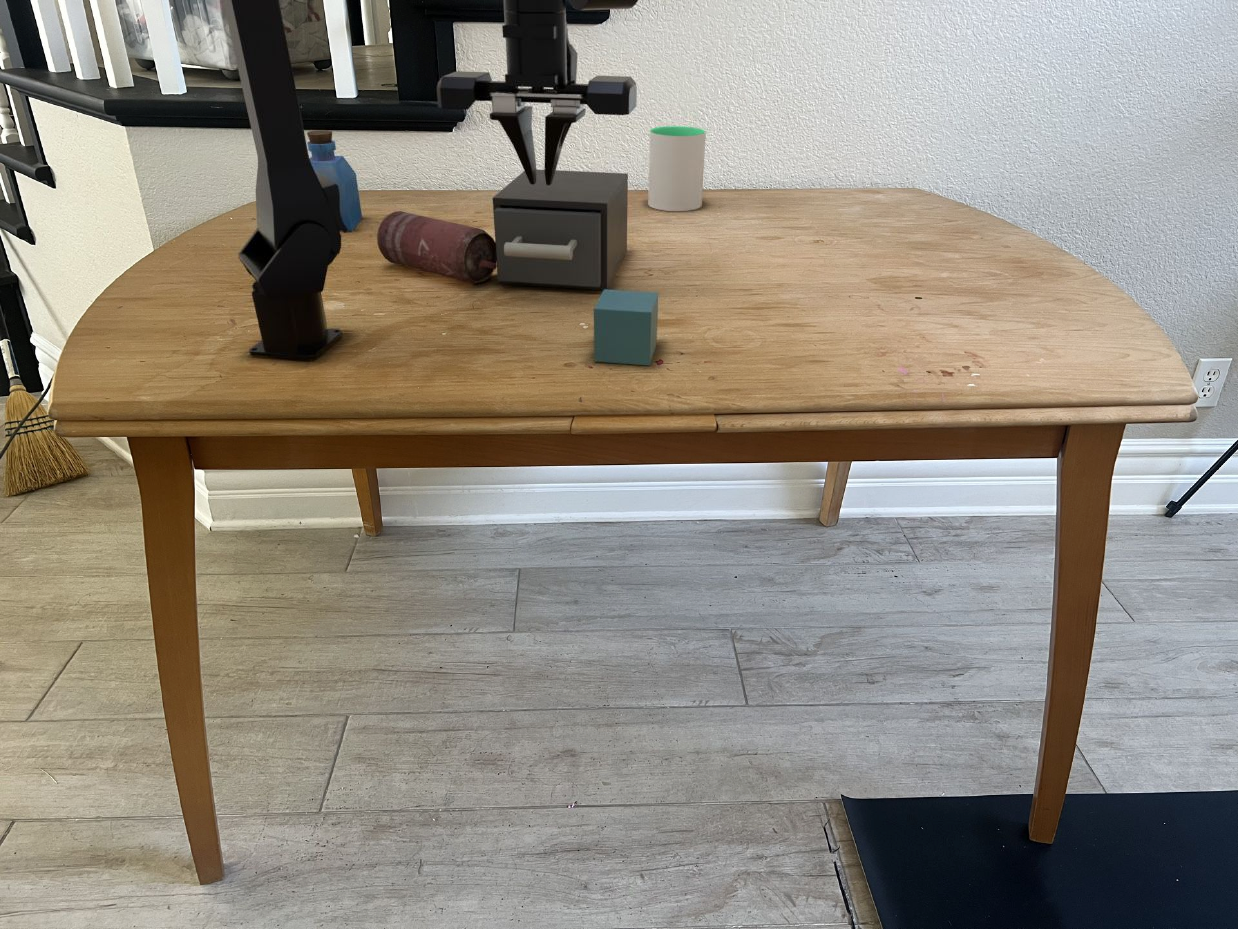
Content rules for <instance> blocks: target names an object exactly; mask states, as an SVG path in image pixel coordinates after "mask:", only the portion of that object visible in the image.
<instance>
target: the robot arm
mask: <svg viewBox="0 0 1238 929" xmlns="http://www.w3.org/2000/svg"><path fill="white" fill-rule="evenodd" d="M568 2H569V4H570V6H571V7H572V8H573V9H575V10H576V11H600V10H601V11H603V10H604V11H605V10H606V11H607V10H630V9H632V8H633V7H635V6H636V5H637V3H638V2H639V0H568ZM222 4H223V8H224V12H225V16H226V21H227V25H228V29H229V30H228V31H229V34H230V39H231V44H232V48H233V53H234V57H235V61H236V65H237V70H238V71H237V72H238V75H239V80H240V83H241V88H242V93H243V97H244V101H245V107H246V110H247V115H248V119H249V124H250V128H251V134H252V138H253V142H254V147H255V152H256V156H257V168H256V169H257V172H256V181H255V182H256V183H255V209H256V225H257V228H256V229H255V230H254V232H253V233H252V235H250V237H249V238H248V240H247V241H246V243H245V244H244V245H243V247H242V248H241V249H240V251H239V252H238V255H237V257H238V259H239V261H240V262H241V265H242V266H243V267H244V268H245V270H246V272H247V273H248V274H249V275H250V276H251V277H252V278H253V279H254V280H255V281H254V282H253V283H252V285H251V288H252V291H250V292H251V297H252V302H253V305H254V311H255V316H256V320H257V324H258V329H259V334H260V338H261V340H260V341H258V342H257V343H256V344H254V345H253V346H252V347H250V348H249V349H248V352H249V355H250V356H254V357H267V358H279V359H289V360H290V359H292V360H305V361H314V360H316V359H317V358H318V357H320V356H321V355H323V353H324V352H325V351H327V349H329V348H330V347H331V346H332V345H334V343H336V342H337V341H338V340H339V339H340V338H341V337H342V336H344V335H343V334H344V333H343V329H341V328H340V329H339V328H328V326H327V325H328V324H327V323H328V322H327V318H326V313H325V307H324V301H323V294H322V292H323V291H324V288H325V284H326V278H327V273H328V268H329V265H331V264H332V263H333V262H334V260H335V259H336V258H337V256H338V255H339V254H340V253H341V249H342V234H341V232H343V233H348V232H349V231H348V229H347V228H346V226H345V224H344V223H343V221H342V217H341V214H340V194H339V187H338V185H337V184H335V183H334V182H333V181H331V180H330V179H328V178H327V177H325V176H324V175H322V174H321V173H319V172H317V173H315V171H314V169H313V167H312V164H311V162H310V159H309V158H310V156H309V150H308V144H307V140H306V134H305V129H304V124H303V119H302V113H301V108H300V103H299V98H298V93H297V92H298V91H297V87H296V81H295V77H294V72H293V67H292V61H291V56H290V51H289V46H288V41H287V34H286V30H285V24H284V20H283V15H282V8H281V5H280V0H222ZM566 10H567V8H566V0H503V15H504V24H502V25H501V28H502V30H501V31H502V38H504V39H505V55H506V56H505V57H506V72H507V73H505V74H504V80H493V78H492V76H491V74H490V73H491V72H489V71H461V70H460V71H459V70H457V71H453V72H450V73H449V74H445V75H443V76H441V78H440V79H439V80H438V82H437V85H436V97H437V107H438V109H442V110H443V109H444V110H467V111H468V110H469V109H471V107H473V105H474V104H475V103H476V102H491V112H490V113H489V120H491V121H498V123H499V124H500V125H501V127H502V129H503V131H504V132H505V134H506V136H507V138H508V139H509V141H510V143H511V145H512V146H513V149H514V150H515V153H516V155H517V157H518V159H519V162H520V164H521V166H522V169H523V171H525V173H526V175H527V178H528V180H529V182H530V184H532V185H534V184H535V183H536V169H537V161H536V152H535V144H534V134H533V126H532V124H533V123H532V122H533V106H532V105H526V104H527V103H532V104H535V103H536V104H550V108H552V111H551V112H550V113H548V114H547V115H546V116H544V169H543V170H545V180H546V185H551V184H552V181H553V178H554V174H555V171H556V170H557V166H558V164H559V159H560V157H561V153H562V149H563V146H564V143H565V140H566V138H567V135H568V133H569V131H570V128H571V126H572V124H574V123H577V122H578V121H579V120H581V119H583V117H584V116H586V111H587V109H586V108H585V105H586V106H587V107H588V108H589V109H590V110H591V111H592V112H593V114H594V115H603V116H605V115H606V116H628V115H630V114H631V113H632V112H633V111H634V110H635V109H636V108H637V101H638V100H637V99H638V98H637V97H638V96H637V95H638V92H637V91H638V88H637V83H636V81H635V80H634V79H633V77H632V76H629V75H628V76H626V75H625V76H624V75H623V76H621V75H596V76H594V77H592V78H591V79H590V80H588V83H577V74H578V73H577V72H578V69H577V68H578V56H579V55H578V52H577V50H576V49H575V47H574V46H573V45H572V44H571V43H570V40H569V29H568V22H567V12H566Z"/></svg>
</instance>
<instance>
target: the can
mask: <svg viewBox="0 0 1238 929" xmlns="http://www.w3.org/2000/svg"><path fill="white" fill-rule="evenodd" d="M376 241H377V246H378V249H379V252H380V253H381V254H382V256H383V258H384V259H385V260H386V261H388V262H389V263H393V264H395V265H399V266H402V267H407V268H410V269H415V270H418V271H421V272H426V273H429V274H433V275H437V276H441V277H443V278H447V279H452V280H456V281H459V282H463V283H467V284H471V285H472V284H473V285H474V284H478V283H482V282H485V281H486V280H487V279H489V278H490V277H491V275H492V274H493V273H494V271H495V270H497V259H496V244H495V238H494V237H492V235H490V234H489V233H488V232H487V231H485V230H484V229H482V228H478V227H475V226H470V225H465V224H460V223H456V222H452V221H446V220H442V219H438V218H434V217H429V216H425V215H419V214H416V213H411V212H406V211H402V210H397V211H392V212H391V213H389V214H388V215H386V216H385V217H384V219H382V221H381V222H380V224H379V225H378V229H377V233H376Z"/></svg>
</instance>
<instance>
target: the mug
mask: <svg viewBox="0 0 1238 929" xmlns="http://www.w3.org/2000/svg"><path fill="white" fill-rule="evenodd" d="M706 135H707V131H706V130H705V129H702V128H699V127H693V126H683V125H682V126H681V125H673V126H672V125H668V126H667V125H666V126H658V127H657V126H656V127H653V128H651V129H649V146H648V147H649V148H648V149H649V150H648V151H649V153H648V185H647V186H648V188H647V189H648V190H647V193H648V194H647V205H648V206H649V207H650V208H653V209H655V210H658V211H659V210H660V211H667V212H688V211H694V210H699V209H700V208H702V206H703V192H704V190H703V188H704V174H705V173H704V170H705V154H706V137H707V136H706Z"/></svg>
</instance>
